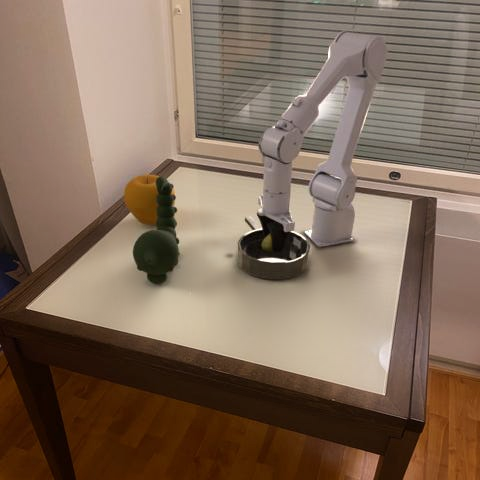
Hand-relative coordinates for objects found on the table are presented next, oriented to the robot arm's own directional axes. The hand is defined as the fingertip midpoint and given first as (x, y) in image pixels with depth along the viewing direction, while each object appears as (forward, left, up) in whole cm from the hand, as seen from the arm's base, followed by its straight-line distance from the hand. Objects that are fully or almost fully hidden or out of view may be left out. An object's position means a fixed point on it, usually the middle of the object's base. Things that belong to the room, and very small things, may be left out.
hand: (273, 246), depth 112 cm
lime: (0, 0, -2) cm, 2 cm away
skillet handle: (0, -11, -1) cm, 11 cm away
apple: (+21, -30, -4) cm, 37 cm away
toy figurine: (+24, -7, -4) cm, 25 cm away
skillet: (0, 0, -4) cm, 4 cm away
